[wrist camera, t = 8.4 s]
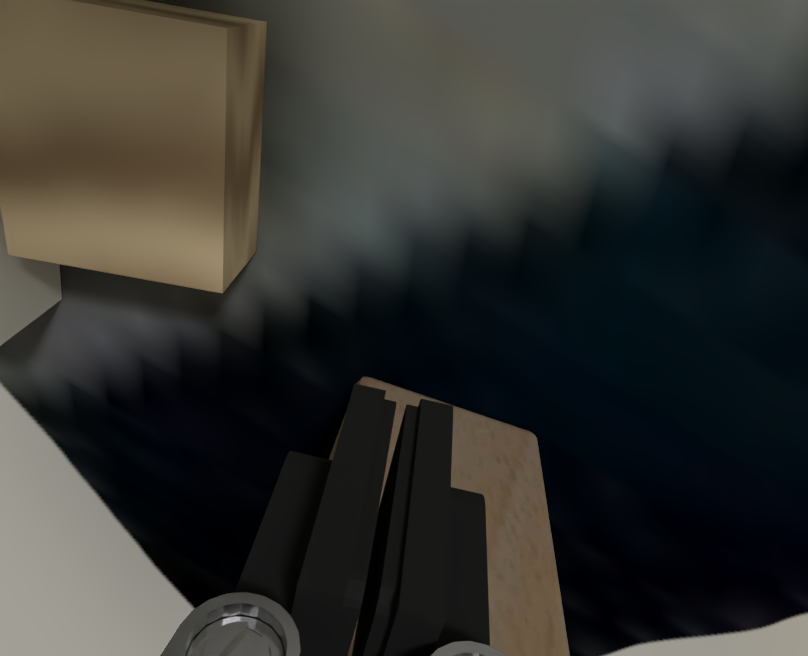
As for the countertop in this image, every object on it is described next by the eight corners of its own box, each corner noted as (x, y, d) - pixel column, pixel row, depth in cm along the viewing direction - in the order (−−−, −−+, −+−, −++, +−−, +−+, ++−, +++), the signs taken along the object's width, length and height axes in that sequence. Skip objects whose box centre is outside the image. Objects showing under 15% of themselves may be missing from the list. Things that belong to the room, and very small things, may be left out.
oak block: (50, -18, 26) (-36, -19, 21) (268, 21, 26) (227, 28, 21) (74, 216, 30) (8, 254, 26) (258, 249, 30) (222, 293, 26)
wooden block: (312, 502, 37) (173, 955, 20) (361, 370, 33) (235, 809, 15) (469, 553, 38) (469, 1032, 21) (539, 430, 34) (616, 914, 16)
